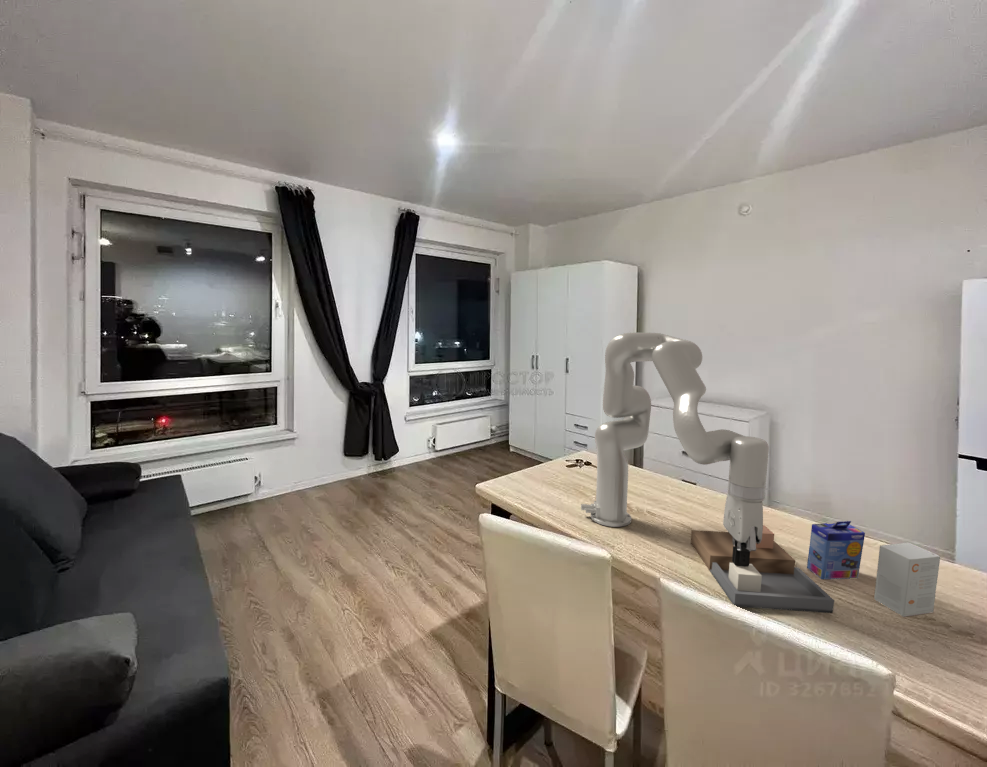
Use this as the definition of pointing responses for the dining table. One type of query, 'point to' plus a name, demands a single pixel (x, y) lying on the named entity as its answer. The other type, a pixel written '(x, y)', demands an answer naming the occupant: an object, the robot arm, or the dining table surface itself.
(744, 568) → the cream block
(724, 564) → the bench plate
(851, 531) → the ink cartridge box
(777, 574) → the tray
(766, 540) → the terracotta block
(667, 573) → the dining table surface
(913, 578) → the small box
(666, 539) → the dining table surface
